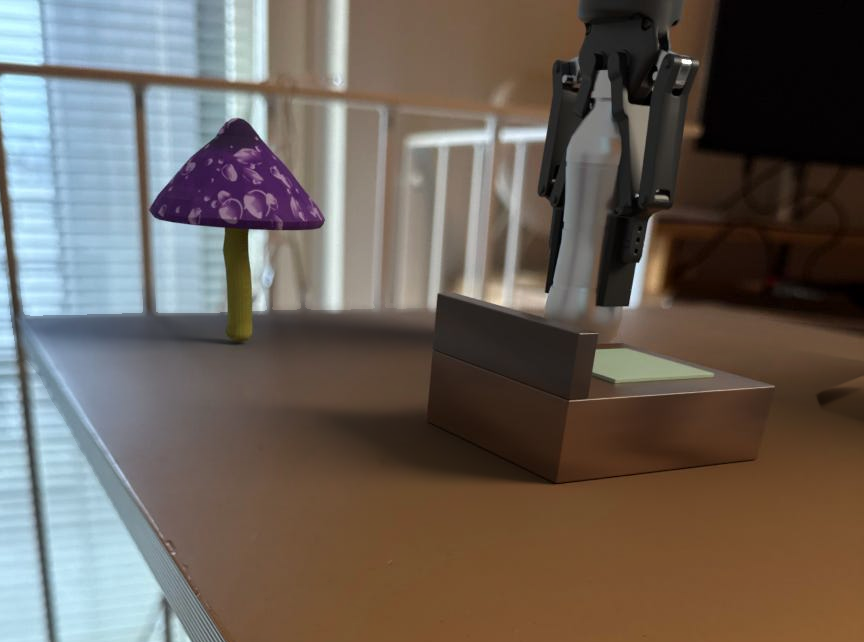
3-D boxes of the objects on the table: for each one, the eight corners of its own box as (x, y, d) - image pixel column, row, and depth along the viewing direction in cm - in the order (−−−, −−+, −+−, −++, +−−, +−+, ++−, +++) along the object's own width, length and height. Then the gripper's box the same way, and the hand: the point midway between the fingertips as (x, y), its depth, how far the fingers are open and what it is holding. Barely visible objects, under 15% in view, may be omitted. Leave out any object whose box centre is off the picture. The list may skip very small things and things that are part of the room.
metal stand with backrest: (611, 406, 62) (631, 292, 58) (757, 459, 52) (790, 327, 49) (425, 421, 55) (436, 292, 52) (555, 484, 46) (578, 333, 43)
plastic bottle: (533, 348, 79) (570, 66, 70) (545, 336, 85) (581, 74, 75) (612, 358, 77) (661, 70, 68) (619, 345, 83) (665, 78, 74)
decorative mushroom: (245, 323, 80) (245, 120, 74) (355, 348, 73) (366, 127, 67) (119, 336, 72) (106, 107, 65) (231, 366, 65) (229, 114, 58)
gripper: (516, -34, 74) (482, 283, 85) (697, -68, 60) (629, 319, 70) (591, -20, 78) (550, 283, 88) (779, -49, 63) (703, 318, 74)
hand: (585, 298), depth 79 cm, fingers closed on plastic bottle, 6 cm apart
